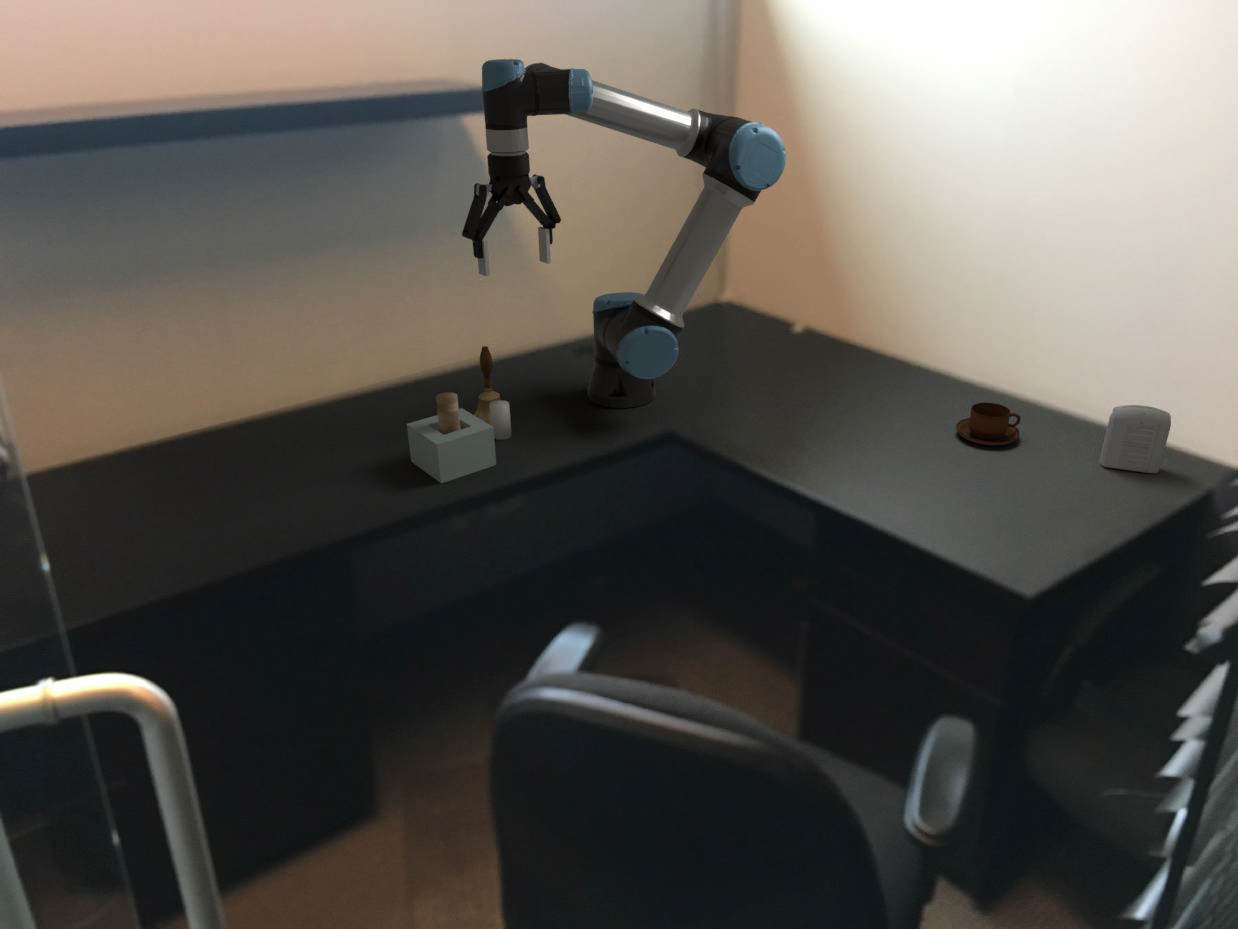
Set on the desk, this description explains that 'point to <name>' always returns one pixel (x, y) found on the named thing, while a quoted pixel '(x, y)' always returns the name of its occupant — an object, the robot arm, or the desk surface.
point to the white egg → (500, 419)
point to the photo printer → (1135, 438)
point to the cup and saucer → (989, 425)
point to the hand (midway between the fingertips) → (515, 268)
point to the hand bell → (486, 387)
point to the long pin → (448, 412)
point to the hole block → (452, 447)
